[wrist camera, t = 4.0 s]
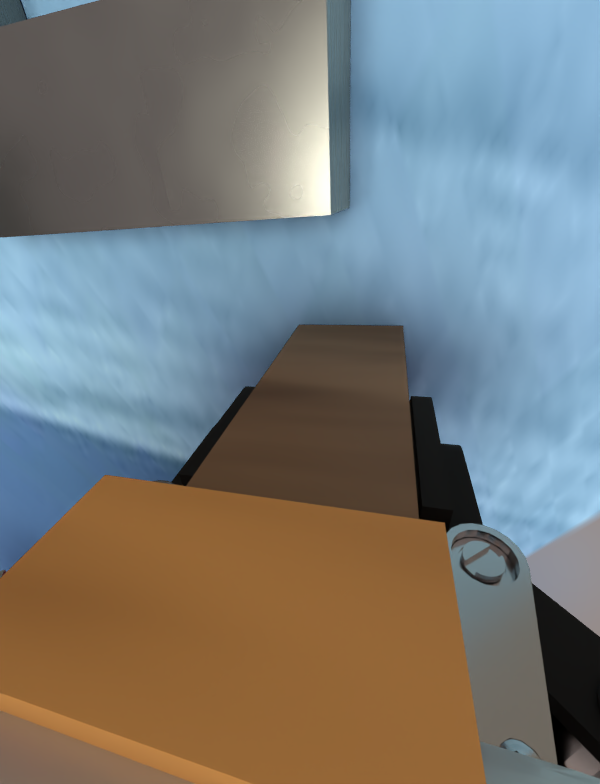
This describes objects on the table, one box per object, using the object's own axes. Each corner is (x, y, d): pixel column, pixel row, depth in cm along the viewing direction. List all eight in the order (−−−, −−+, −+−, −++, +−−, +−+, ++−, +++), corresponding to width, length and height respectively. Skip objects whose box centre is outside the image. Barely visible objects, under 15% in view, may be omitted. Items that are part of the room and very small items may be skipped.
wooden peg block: (392, 441, 15) (393, 931, 5) (307, 434, 16) (166, 834, 6) (406, 284, 12) (501, 873, 2) (296, 286, 12) (-86, 662, 3)
